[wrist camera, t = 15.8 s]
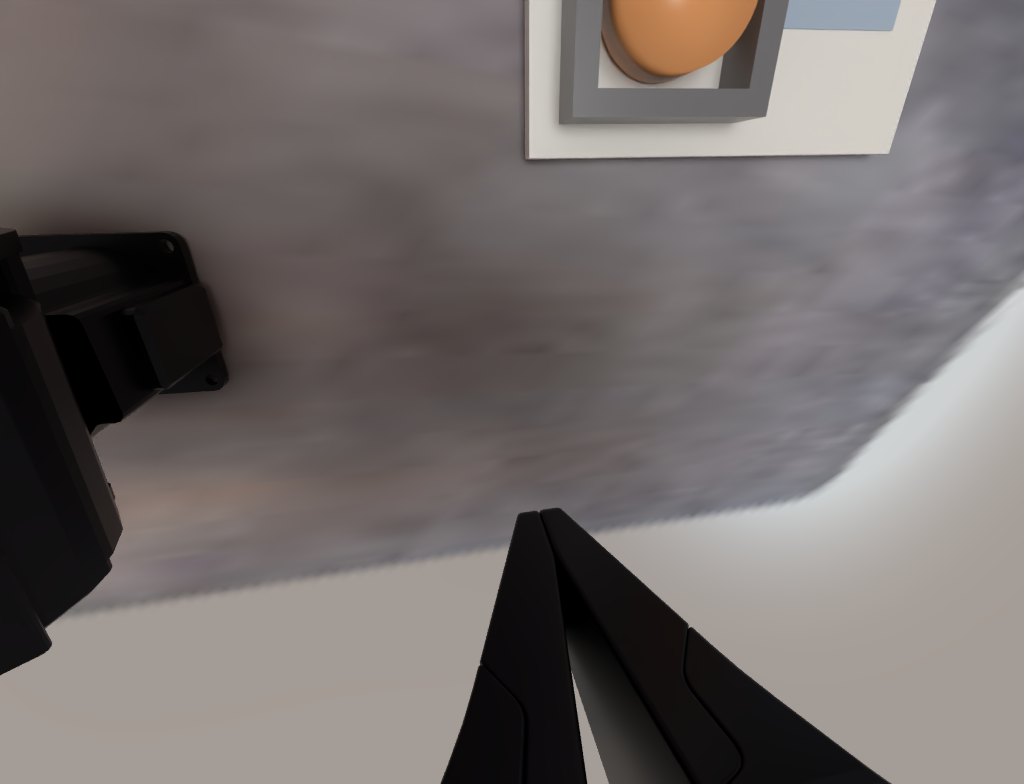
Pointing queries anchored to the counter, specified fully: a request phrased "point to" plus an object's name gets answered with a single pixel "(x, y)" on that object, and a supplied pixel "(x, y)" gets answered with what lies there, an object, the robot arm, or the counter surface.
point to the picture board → (726, 84)
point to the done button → (671, 34)
